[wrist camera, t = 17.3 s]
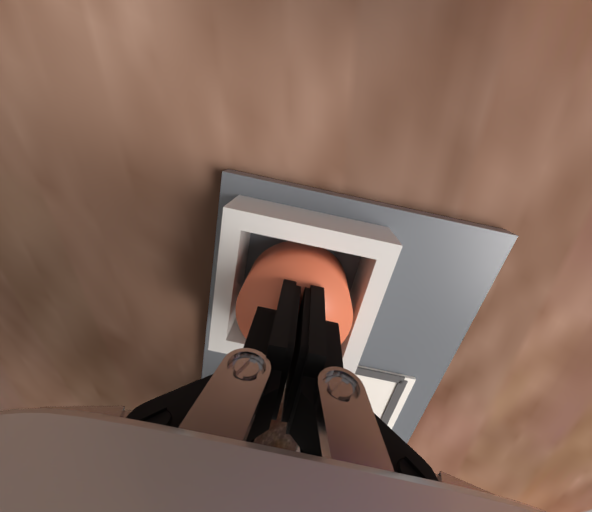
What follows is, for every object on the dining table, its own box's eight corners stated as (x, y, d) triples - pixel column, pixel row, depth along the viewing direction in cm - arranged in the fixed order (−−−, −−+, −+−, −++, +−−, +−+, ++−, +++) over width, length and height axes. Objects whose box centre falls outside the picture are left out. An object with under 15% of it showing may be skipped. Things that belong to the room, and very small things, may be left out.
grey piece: (379, 474, 22) (390, 532, 19) (199, 438, 22) (179, 490, 19) (505, 229, 14) (559, 256, 11) (228, 168, 14) (202, 179, 11)
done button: (333, 336, 15) (336, 371, 13) (242, 316, 15) (229, 349, 13) (359, 252, 13) (368, 277, 11) (256, 230, 13) (243, 250, 11)
